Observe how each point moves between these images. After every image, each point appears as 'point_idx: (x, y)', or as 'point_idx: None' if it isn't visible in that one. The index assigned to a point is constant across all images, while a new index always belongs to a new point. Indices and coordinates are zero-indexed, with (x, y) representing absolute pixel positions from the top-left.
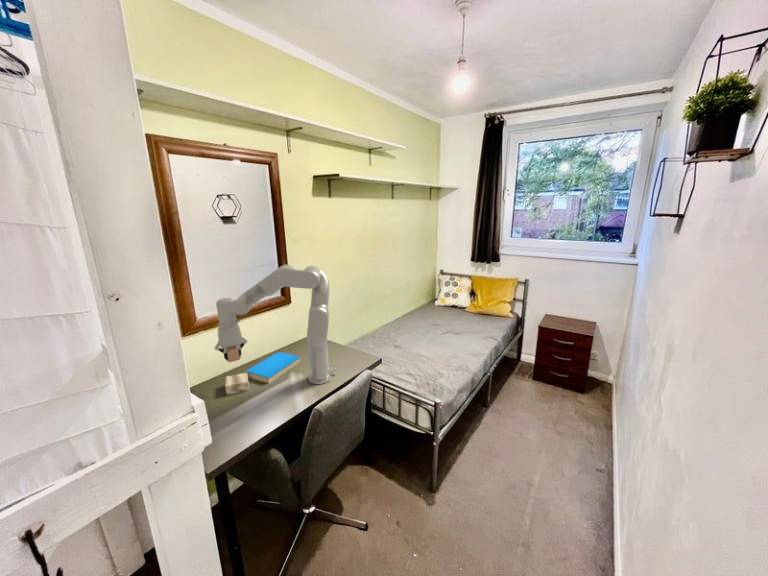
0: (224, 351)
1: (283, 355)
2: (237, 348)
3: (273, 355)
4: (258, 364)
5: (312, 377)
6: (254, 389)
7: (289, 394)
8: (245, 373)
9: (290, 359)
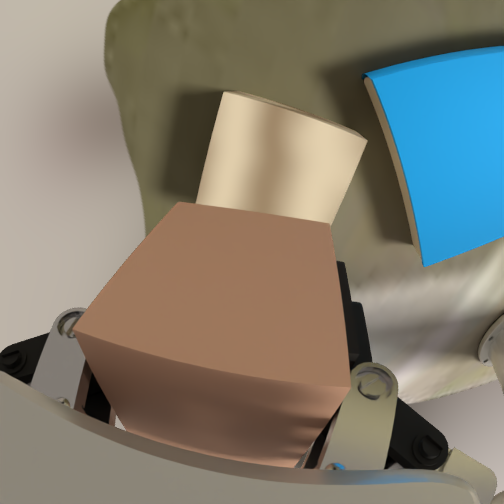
0: (94, 401)
1: None
2: (283, 466)
3: None
4: (467, 68)
5: (494, 348)
6: (337, 245)
7: (400, 355)
8: (351, 145)
9: None
